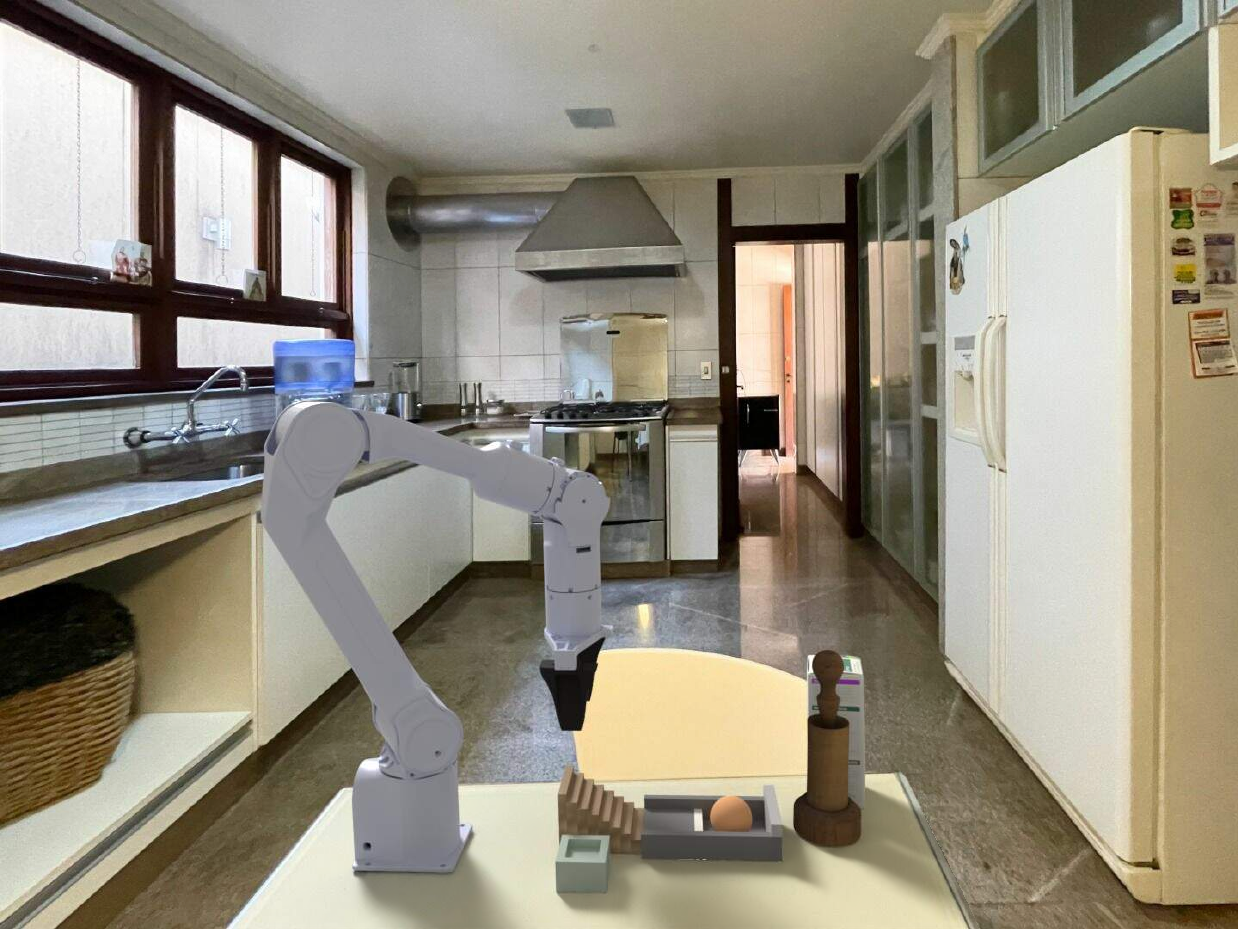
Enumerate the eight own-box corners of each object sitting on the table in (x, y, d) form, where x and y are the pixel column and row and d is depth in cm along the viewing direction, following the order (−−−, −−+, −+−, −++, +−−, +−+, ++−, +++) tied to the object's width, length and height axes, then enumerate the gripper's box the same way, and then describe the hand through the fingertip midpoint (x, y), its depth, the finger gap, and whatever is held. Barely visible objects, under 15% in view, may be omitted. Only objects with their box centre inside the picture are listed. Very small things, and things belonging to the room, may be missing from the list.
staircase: (559, 852, 82) (557, 794, 81) (567, 820, 88) (566, 765, 87) (641, 854, 81) (640, 795, 81) (644, 821, 87) (643, 766, 87)
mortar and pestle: (876, 837, 83) (878, 656, 82) (822, 855, 81) (823, 668, 79) (831, 807, 89) (832, 637, 88) (779, 822, 87) (779, 647, 85)
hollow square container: (556, 892, 76) (555, 861, 76) (563, 863, 80) (562, 834, 80) (606, 893, 76) (605, 862, 75) (610, 864, 80) (609, 835, 80)
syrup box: (866, 811, 89) (867, 673, 87) (807, 806, 90) (807, 670, 88) (862, 784, 94) (863, 655, 93) (806, 780, 95) (806, 652, 94)
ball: (727, 800, 81) (761, 826, 81) (727, 780, 85) (760, 805, 85) (701, 831, 82) (735, 857, 82) (702, 809, 86) (735, 834, 85)
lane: (641, 859, 81) (640, 822, 80) (644, 817, 88) (644, 783, 88) (782, 861, 80) (782, 824, 79) (773, 819, 87) (773, 785, 87)
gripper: (605, 605, 81) (609, 744, 82) (617, 569, 95) (619, 688, 97) (531, 605, 81) (535, 744, 83) (553, 569, 96) (557, 688, 97)
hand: (576, 714), depth 90 cm, fingers open, 7 cm apart
